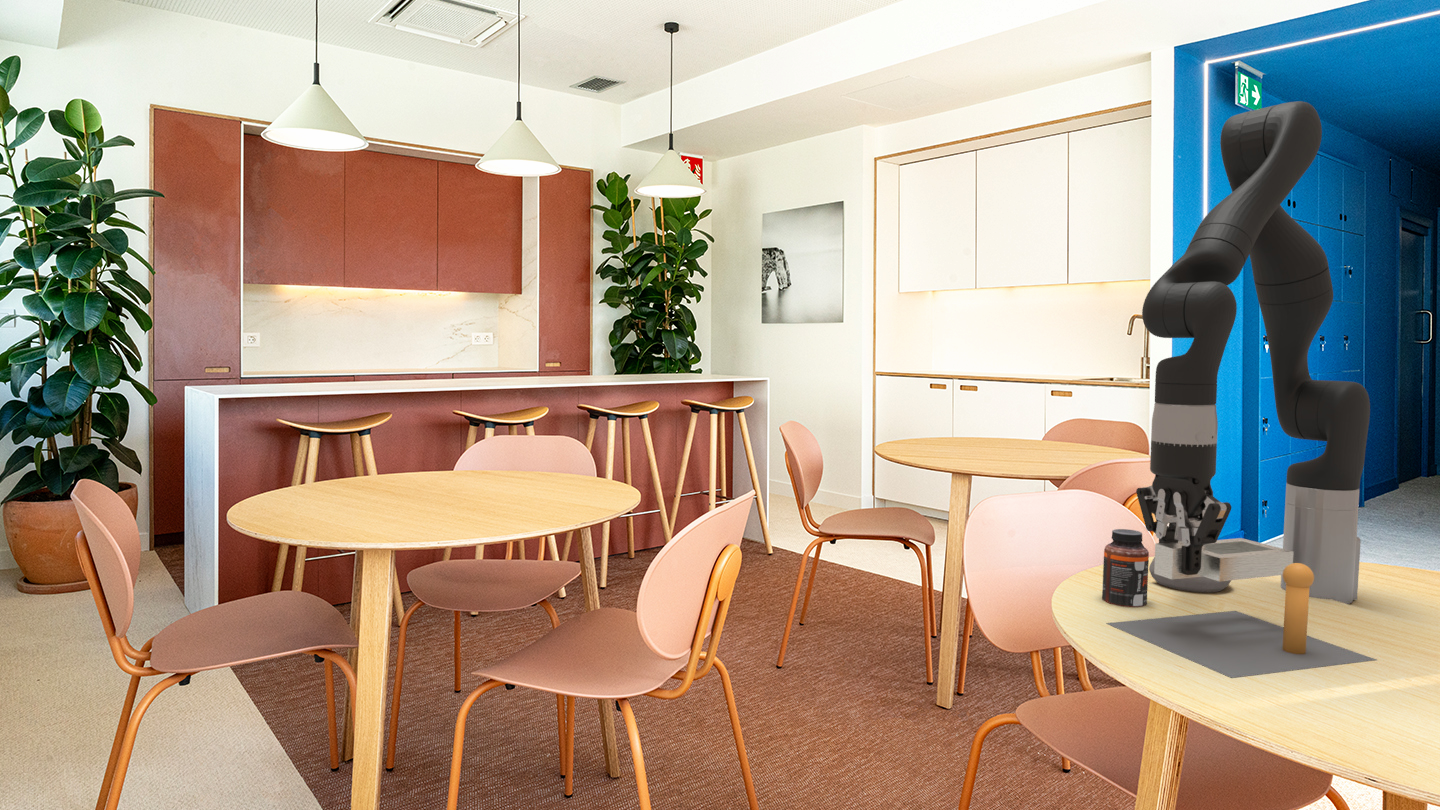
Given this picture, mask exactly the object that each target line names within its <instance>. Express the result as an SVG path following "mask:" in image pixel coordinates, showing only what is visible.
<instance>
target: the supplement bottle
mask: <svg viewBox="0 0 1440 810" xmlns="http://www.w3.org/2000/svg"><path fill="white" fill-rule="evenodd" d="M1111 540H1112V541H1111V542H1110V543H1108V544H1106V545H1105V547H1104V551H1103V565H1102V568H1103V570H1102V592H1101V593H1102V594H1101V595H1102V596H1101V598H1102V601H1103V602H1105V603H1107V604H1110V605H1112V606H1113V605H1114V606H1118V607H1123V608H1124V607H1125V608H1142V607H1145V606H1147V604H1148V584H1149V583H1148V581H1149V566H1150V562H1149V556H1150V555H1149V554H1150V552H1149V550H1148V548H1146V547H1145V546H1144V544H1143V533H1142V531H1139V530H1135V529H1126V528H1117V529H1116V528H1115V529H1112V531H1111Z"/></svg>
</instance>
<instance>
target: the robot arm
mask: <svg viewBox="0 0 1440 810" xmlns="http://www.w3.org/2000/svg"><path fill="white" fill-rule="evenodd" d="M1322 133H1323V128H1322V122H1321V118H1320V116H1319V114H1318V111H1317V110H1316V109H1315V107H1314V106H1313V105H1312V104H1310V103H1309V102H1307V101H1306V102H1305V101H1301V100H1299V101H1289V102H1283V103H1280V104H1279V103H1278V104H1275V105H1271V106H1267V107H1262V108H1258V109H1254V110H1249V111H1245V112H1242V113H1238V114H1235V115H1232V116H1230V117H1229V118H1228V119H1227V120H1226V121H1225V122H1224V124H1223V126H1222V129H1221V132H1220V143H1219V144H1220V153H1221V159H1222V163H1223V166H1224V167H1223V168H1224V171H1225V173H1226V177H1227V180H1228V183H1229V186H1230V190H1231V193H1230V194H1228V195H1227V196H1226V197H1225V198H1223V199H1222V200H1221V201H1220V202H1219V203H1218V204H1216V205H1215V206H1214V207H1213V208H1212V209H1211V210H1210V211H1209V212H1208V213H1207V214H1206V215H1205V217H1204V218H1203V219H1202V220H1201V222H1200V224H1199V225H1198V227H1197V229H1196V231H1195V232H1194V234H1193V236H1192V238H1191V240H1190V242H1189V244H1188V246H1187V248H1186V250H1185V252H1184V253H1183V254H1182V256H1181V257H1179V259H1177V260H1176V261H1175V262H1174V263H1173V264H1172V265H1171V266H1170V267H1169V268H1168V269H1167V270H1166V271H1165V272H1164V273H1163V274H1162V275H1161V276H1160V277H1159V278H1158V280H1157V281H1155V283H1154V284H1153V285H1152V287H1151V288H1150V290H1149V291H1148V292H1147V294H1146V296H1145V299H1144V302H1143V305H1142V310H1141V315H1142V322H1143V324H1144V327H1145V329H1146V330H1147V332H1149V333H1150V334H1151V335H1153V336H1155V337H1157V338H1162V339H1164V338H1165V339H1193V341H1192V342H1191V345H1190V347H1189V348H1188V349H1187V351H1186V352H1185V353H1184V354H1181V355H1176V356H1171V357H1167V358H1164V359H1161V360H1160V361H1159V362H1158V363H1157V365H1156V368H1155V381H1154V382H1155V383H1154V384H1155V385H1154V407H1153V412H1152V417H1151V433H1150V434H1151V436H1150V460H1149V462H1150V463H1149V469H1150V472H1151V473H1152V474H1153V475H1154V479H1153V481H1152V483H1151V485H1148V486H1143V487H1137V488H1136V492H1135V493H1136V497H1137V500H1138V504H1139V507H1140V511H1141V514H1142V518H1143V519H1142V520H1143V521H1144V522H1143V523H1144V525H1145V529H1146V530H1147V532H1153V533H1155V534H1154V535H1155V536H1156V538H1157V539H1158V543H1169V542H1178V540H1177V539H1175V537H1177V534H1178V529H1179V527H1180V528H1181V531H1182V542H1183V544H1184V546H1182V564H1181V572H1182V573H1183V574H1185V575H1195V574H1197V573H1198V572H1199V571H1200V568H1201V554H1202V546H1203V545H1205V544H1211V543H1216V541H1217V540H1219V537H1220V535H1221V533H1222V530H1223V529H1224V526H1225V523H1226V522H1227V519H1228V517H1229V515H1230V513H1231V511H1232V505H1231V503H1230V502H1228V501H1226V502H1222V501H1221V500H1219V499H1217V498H1216V497H1215V496H1214V490H1213V488H1212V485H1211V484H1212V483H1211V481H1212V479H1213V477H1215V475H1216V474H1217V453H1218V452H1217V448H1218V429H1219V428H1218V427H1219V426H1218V424H1219V423H1218V414H1217V413H1218V412H1217V405H1216V404H1217V398H1218V397H1217V395H1218V384H1217V383H1218V374H1219V370H1220V366H1221V362H1222V359H1223V356H1224V352H1225V350H1226V346H1227V343H1228V340H1229V338H1230V336H1231V333H1232V329H1233V326H1234V325H1235V324H1234V323H1235V321H1236V318H1237V310H1238V307H1237V300H1236V296H1235V295H1234V292H1233V291H1232V289H1231V288H1230V287H1229V285H1230V284H1232V283H1234V282H1235V281H1236V280H1237V279H1238V277H1239V275H1240V274H1241V272H1242V270H1243V268H1244V266H1245V264H1246V262H1247V259H1249V260H1250V264H1251V269H1252V270H1251V271H1252V276H1253V282H1254V287H1255V291H1256V296H1257V301H1258V304H1259V309H1260V312H1261V316H1262V320H1263V324H1264V329H1265V333H1266V339H1267V344H1268V349H1269V354H1270V355H1269V356H1270V363H1271V374H1272V381H1273V382H1272V383H1273V392H1274V400H1275V401H1274V402H1275V403H1274V404H1275V410H1276V414H1277V419H1278V420H1277V421H1278V424H1279V425H1280V427H1281V429H1282V431H1283V432H1284V434H1285V435H1287V436H1289V437H1291V438H1294V439H1299V440H1307V441H1319V442H1326V445H1325V450H1324V452H1323V453H1322V454H1321V455H1319V456H1318V457H1315V458H1313V459H1309V460H1304V461H1299V462H1296V463H1292V464H1290V465H1289V466H1288V468H1287V471H1286V483H1285V485H1286V486H1285V501H1284V504H1285V505H1284V522H1283V537H1282V538H1283V540H1282V549H1286V550H1290V551H1293V563H1301V564H1304V565H1306V566H1308V567H1309V568H1310V569H1311V570H1312V572H1313V574H1314V581H1313V583H1312V585H1311V586H1310V588H1309V598H1313V599H1314V598H1315V599H1321V600H1332V601H1335V602H1339V603H1343V604H1346V605H1350V604H1351V603H1353V601H1354V600H1355V601H1356V600H1358V590H1359V577H1360V576H1359V575H1360V573H1359V572H1360V556H1361V543H1362V542H1361V538H1360V537H1359V536H1357V535H1358V521H1359V503H1360V485H1361V479H1362V474H1363V471H1364V468H1365V467H1364V466H1365V458H1366V451H1367V450H1366V448H1367V440H1368V433H1369V425H1370V416H1371V402H1370V396H1369V393H1368V391H1367V390H1366V387H1364V386H1363V384H1361V383H1358V382H1355V381H1345V380H1323V379H1321V380H1318V379H1312V378H1311V375H1310V371H1309V362H1308V355H1309V349H1310V346H1311V344H1312V342H1313V340H1314V338H1315V336H1316V334H1317V333H1318V331H1319V329H1321V328H1320V327H1321V326H1322V325H1323V324H1324V321H1325V320H1326V317H1327V316H1328V314H1329V312H1330V309H1331V307H1332V304H1333V300H1334V290H1333V289H1334V288H1333V284H1332V278H1331V273H1330V268H1329V267H1330V266H1329V261H1328V257H1327V255H1326V252H1325V250H1324V249H1323V247H1322V246H1321V245H1320V243H1319V242H1318V241H1317V240H1316V239H1315V238H1314V237H1313V236H1312V235H1311V234H1310V233H1309V232H1308V231H1307V230H1306V229H1305V228H1303V226H1302V225H1300V224H1299V223H1298V222H1297V220H1295V219H1294V218H1293V217H1291V216H1290V214H1289V213H1287V211H1286V210H1285V209H1284V208H1283V206H1282V205H1281V204H1282V203H1283V202H1284V200H1285V199H1286V198H1287V197H1288V195H1289V194H1290V193H1291V191H1292V190H1293V188H1294V187H1295V186H1296V184H1297V183H1298V182H1299V180H1300V179H1301V178H1303V175H1305V173H1306V171H1307V170H1308V169H1309V167H1310V166H1311V165H1312V163H1313V162H1314V160H1315V159H1316V156H1317V155H1318V152H1319V149H1320V147H1321V143H1322V135H1323V134H1322ZM1248 257H1249V258H1248ZM1153 515H1154V516H1153ZM1154 517H1155V518H1154ZM1191 518H1195V520H1193V521H1189V520H1188V519H1191ZM1154 519H1155V520H1154ZM1192 528H1194V536H1192ZM1280 588H1281V589H1282V590H1284V591H1286V583H1285V581H1284V579H1283V575H1280Z"/></svg>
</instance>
